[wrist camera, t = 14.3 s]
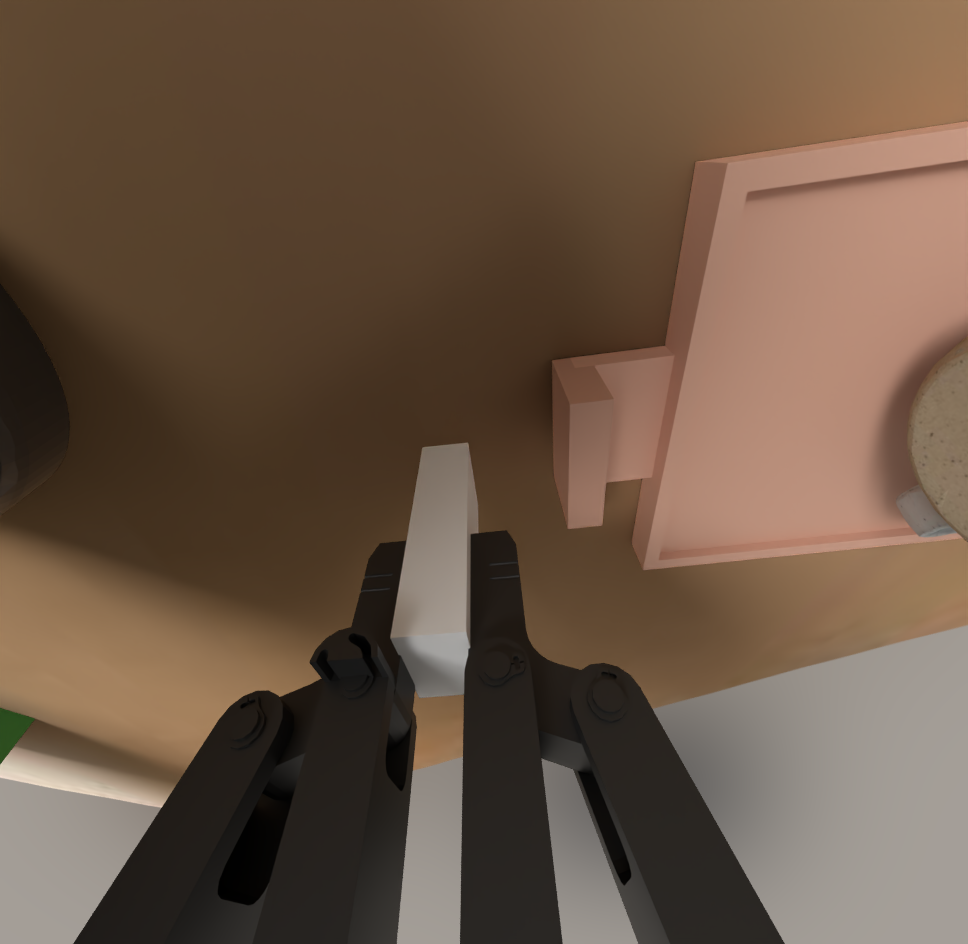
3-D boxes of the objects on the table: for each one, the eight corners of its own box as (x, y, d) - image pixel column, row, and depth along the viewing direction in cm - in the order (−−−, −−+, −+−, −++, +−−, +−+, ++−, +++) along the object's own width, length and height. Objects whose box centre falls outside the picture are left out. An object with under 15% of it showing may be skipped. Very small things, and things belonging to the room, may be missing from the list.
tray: (554, 551, 19) (566, 605, 17) (549, 183, 10) (573, 192, 8) (950, 510, 18) (1020, 561, 16) (1330, 66, 9) (1616, 38, 7)
